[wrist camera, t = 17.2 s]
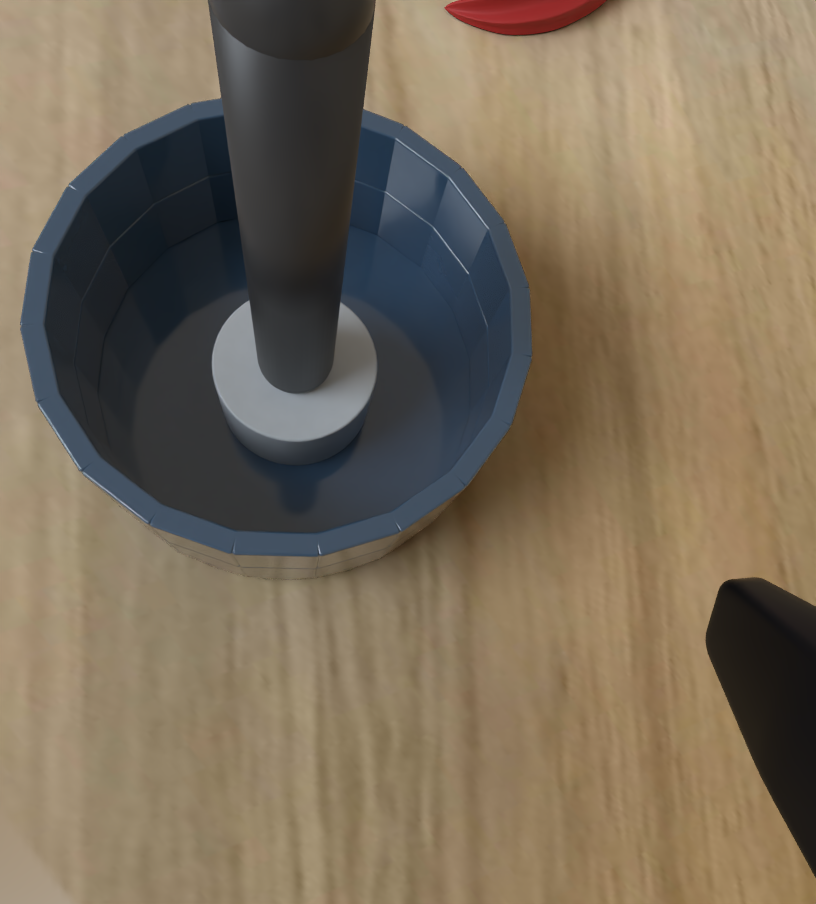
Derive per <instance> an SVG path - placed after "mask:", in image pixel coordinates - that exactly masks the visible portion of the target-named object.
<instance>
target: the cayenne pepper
mask: <svg viewBox="0 0 816 904" xmlns="http://www.w3.org/2000/svg"><path fill="white" fill-rule="evenodd" d="M606 1H607V0H459V1H455V2H452V3H450V4H448V5H447V6H446V7H445V9H446V10H447V11H448V12H449V13H450V14H452V15H453V16H454V17H456V18H457V19H459V20H461V21H463V22H465V23H468V24H470V25H473V26H476V27H478V28H481V29H484V30H488V31H491V32H495V33H501V34H511V35H523V34H536V33H543V32H548V31H552V30H556V29H559V28H561V27H564V26H566V25H569V24H571V23H573V22H575V21H577V20H579V19H581V18H583V17H584V16H586V15H588V14H589V13H591V12H593V11H594V10H596V9H597V8H598V7H600V6H601V5H602V4H603V3H604V2H606Z"/></svg>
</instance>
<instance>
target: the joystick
mask: <svg viewBox="0 0 816 904" xmlns="http://www.w3.org/2000/svg"><path fill="white" fill-rule="evenodd" d="M208 4H209V11H210V18H211V26H212V33H213V40H214V47H215V55H216V62H217V69H218V76H219V84H220V91H221V98H222V105H223V113H224V120H225V127H226V134H227V142H228V149H229V156H230V163H231V171H232V178H233V185H234V192H235V200H236V207H237V214H238V221H239V229H240V236H241V243H242V250H243V258H244V265H245V272H246V279H247V287H248V294H249V301H247V302H246V303H244V304H243V305H242V306H240V307H239V308H238V309H237V310H236V311H235V312H234V313H233V314H232V315H231V316H230V317H229V318H228V319H227V321H226V322H225V323H224V325H223V326H222V328H221V330H220V332H219V334H218V336H217V339H216V341H215V344H214V349H213V354H212V375H213V379H214V384H215V387H216V391H217V394H218V397H219V400H220V404H221V407H222V410H223V413H224V416H225V419H226V421H227V424H228V425H229V427H230V429H231V431H232V432H233V434H234V435H235V436H236V438H237V439H238V440H239V441H240V442H241V443H242V444H243V445H244V446H245V447H246V448H248V449H249V450H250V451H251V452H253V453H255V454H256V455H258V456H260V457H262V458H264V459H267V460H269V461H272V462H276V463H279V464H286V465H306V464H312V463H316V462H320V461H322V460H325V459H328V458H330V457H332V456H334V455H335V454H337V453H338V452H340V451H341V450H343V449H344V448H345V447H346V446H347V445H348V444H350V443H351V441H352V440H353V439H354V438H355V437H356V435H357V434H358V432H359V431H360V429H361V428H362V425H363V423H364V421H365V419H366V415H367V412H368V408H369V405H370V401H371V398H372V394H373V390H374V387H375V383H376V378H377V355H376V350H375V346H374V343H373V340H372V338H371V336H370V333H369V332H368V330H367V328H366V327H365V325H364V324H363V322H362V321H361V320H360V319H359V317H358V316H357V315H356V314H355V313H354V312H353V311H352V310H351V309H349V308H348V307H347V306H345V305H344V304H343V303H341V293H342V285H343V276H344V267H345V259H346V250H347V242H348V233H349V225H350V216H351V208H352V199H353V191H354V182H355V174H356V165H357V157H358V148H359V140H360V131H361V123H362V114H363V106H364V97H365V88H366V80H367V71H368V63H369V54H370V46H371V37H372V29H373V20H374V12H375V0H208Z"/></svg>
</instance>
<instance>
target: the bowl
mask: <svg viewBox="0 0 816 904" xmlns="http://www.w3.org/2000/svg"><path fill="white" fill-rule="evenodd" d="M68 186H69V187H66V189H65V191H64V192H63V194H62V196H61V198H60V200H59V201H58V203H57V205H56V207H55V209H54V211H53V212H52V214H51V216H50V218H49V220H48V221H47V223H46V225H45V227H44V229H43V231H42V232H41V234H40V236H39V238H38V240H37V241H36V243H35V245H34V247H33V249H32V251H33V252H31V256H30V263H29V269H28V276H27V282H26V289H25V295H24V302H23V309H22V315H21V322H20V325H21V328H20V330H21V335H22V340H23V344H24V349H25V354H26V358H27V363H28V367H29V372H30V377H31V381H32V386H33V391H34V395H35V400H36V402H37V403H38V407H39V409H40V410H41V412H42V413H43V415H44V416H45V418H46V420H47V421H48V423H49V424H50V426H51V427H52V429H53V431H54V432H55V434H56V435H57V437H58V438H59V440H60V441H61V443H62V445H63V446H64V448H65V449H66V451H67V452H68V454H69V456H70V457H71V459H72V460H73V462H74V463H75V465H76V466H77V468H78V470H79V471H80V472H81V473H82V474H83V475H84V476H85V477H86V478H87V479H88V480H90V481H91V482H92V483H93V484H94V485H96V486H97V487H98V488H99V489H100V490H101V491H103V492H104V493H105V494H106V495H107V496H109V497H110V498H111V499H112V500H113V501H114V502H116V503H117V504H118V505H119V506H120V507H121V508H123V509H124V510H125V511H126V512H127V513H129V514H130V515H131V516H132V517H134V518H135V519H136V520H138V521H139V522H140V523H141V524H143V525H144V526H145V527H147V528H148V529H149V530H150V531H152V532H153V533H154V534H156V535H157V536H158V537H159V538H160V539H162V540H163V541H165V542H166V543H167V544H168V545H170V546H171V547H172V548H174V549H175V550H176V551H177V552H179V553H181V554H183V555H185V556H188V557H191V558H194V559H196V560H198V561H200V562H203V563H205V564H207V565H209V566H212V567H215V568H218V569H221V570H225V571H228V572H231V573H235V574H238V575H242V576H248V577H256V578H262V579H283V580H296V579H306V578H316V577H317V578H318V577H323V576H327V575H331V574H336V573H340V572H344V571H348V570H350V569H353V568H356V567H358V566H361V565H364V564H366V563H369V562H372V561H374V560H378V559H379V558H382V557H383V556H385V555H386V554H387V553H389V552H391V551H392V550H394V549H396V548H397V547H399V546H400V545H401V544H403V543H404V542H406V541H407V540H408V539H410V538H411V537H413V536H414V535H415V534H417V533H418V532H419V531H420V530H422V529H423V528H425V527H426V526H428V525H429V524H430V523H432V522H433V521H434V520H435V519H436V518H437V517H438V516H439V515H440V514H441V513H442V512H443V511H444V510H445V509H446V508H447V507H448V506H449V504H450V503H451V502H452V501H453V500H454V499H455V498H456V497H457V496H458V495H459V494H460V493H461V492H462V491H463V490H464V489H465V488H466V487H467V486H468V485H469V484H470V482H471V481H472V480H473V478H474V477H475V476H476V474H477V473H478V472H479V470H480V469H481V467H482V466H483V465H484V463H485V462H486V461H487V459H488V458H489V457H490V455H491V454H492V452H493V451H494V450H495V448H496V447H497V446H498V444H499V443H500V442H501V440H502V439H503V438H504V436H505V435H506V433H507V432H508V431H509V429H510V426H511V425H512V423H513V420H514V417H515V414H516V410H517V407H518V404H519V400H520V397H521V394H522V391H523V387H524V384H525V381H526V378H527V374H528V371H529V368H530V365H531V361H532V358H531V357H532V331H531V304H530V289H529V284H528V281H527V279H526V276H525V273H524V271H523V268H522V265H521V263H520V260H519V257H518V255H517V252H516V249H515V247H514V244H513V241H512V239H511V236H510V233H509V231H508V228H507V225H506V224H505V223H504V220H503V219H502V217H501V216H500V215H499V213H498V212H497V211H496V210H495V208H494V207H493V206H492V204H491V203H490V202H489V201H488V199H487V198H486V197H485V195H484V194H483V193H482V192H481V190H480V189H479V188H478V186H477V185H476V184H475V182H474V181H473V180H472V179H471V177H470V176H469V175H468V173H467V172H466V171H465V170H464V168H461V166H460V165H459V164H458V163H456V162H455V161H454V160H452V159H451V158H450V157H448V156H447V155H445V154H444V153H443V152H441V151H440V150H439V149H437V148H436V147H434V146H433V145H432V144H430V143H429V142H428V141H426V140H425V139H423V138H422V137H421V136H419V135H418V134H417V133H415V132H414V131H413V130H411V129H410V128H408V127H407V126H404V125H403V124H401V123H399V122H396V121H393V120H391V119H388V118H386V117H383V116H380V115H378V114H375V113H372V112H370V111H367V110H364V109H363V114H362V123H361V131H360V140H359V148H358V157H357V165H356V174H355V182H354V191H353V199H352V208H351V216H350V225H349V233H348V242H347V250H346V259H345V267H344V276H343V285H342V293H341V303H343V304H344V305H345V306H347V307H348V308H349V309H351V310H352V311H353V312H354V313H355V314H356V315H357V316H358V317H359V319H360V320H361V321H362V322H363V324H364V325H365V327H366V328H367V330H368V332H369V333H370V336H371V338H372V340H373V343H374V346H375V350H376V355H377V378H376V383H375V387H374V390H373V394H372V398H371V401H370V405H369V408H368V412H367V415H366V419H365V421H364V423H363V425H362V428H361V429H360V431H359V432H358V434H357V435H356V437H355V438H354V439H353V440H352V441H351V443H350V444H348V445H347V446H346V447H345V448H344V449H343V450H341V451H340V452H338V453H337V454H335V455H334V456H332V457H330V458H328V459H325V460H322V461H320V462H316V463H312V464H306V465H286V464H279V463H276V462H272V461H269V460H267V459H264V458H262V457H260V456H258V455H256V454H255V453H253V452H251V451H250V450H249V449H248V448H246V447H245V446H244V445H243V444H242V443H241V442H240V441H239V440H238V439H237V438H236V436H235V435H234V434H233V432H232V431H231V429H230V427H229V425H228V424H227V421H226V419H225V416H224V413H223V410H222V407H221V404H220V400H219V397H218V394H217V391H216V387H215V384H214V379H213V375H212V354H213V349H214V344H215V341H216V339H217V336H218V334H219V332H220V330H221V328H222V326H223V325H224V323H225V322H226V321H227V319H228V318H229V317H230V316H231V315H232V314H233V313H234V312H235V311H236V310H237V309H238V308H239V307H240V306H242V305H243V304H244V303H246V302H247V301H249V294H248V287H247V279H246V272H245V265H244V258H243V250H242V243H241V236H240V229H239V221H238V214H237V207H236V200H235V192H234V185H233V178H232V171H231V163H230V156H229V149H228V142H227V134H226V127H225V120H224V113H223V105H222V98H220V99H213V100H207V101H201V102H195V103H191V105H189V104H187V105H185V106H183V107H181V108H179V109H177V110H175V111H172V112H170V113H168V114H166V115H164V116H162V117H160V118H158V119H156V120H153V121H151V122H149V123H147V124H145V125H143V126H141V127H139V128H136V129H134V130H132V131H130V132H128V133H126V134H124V135H123V136H121V137H120V138H119V139H118V140H116V141H115V142H114V143H113V144H112V145H111V146H110V147H109V148H108V149H107V150H105V151H104V152H103V153H102V154H101V155H100V156H99V157H98V158H97V159H96V160H95V161H93V162H92V163H91V164H90V165H89V166H88V167H87V168H86V169H85V170H84V171H82V172H81V173H80V174H79V175H78V176H77V177H76V178H75V179H74V180H73V181H72V182H70V183H69V185H68Z"/></svg>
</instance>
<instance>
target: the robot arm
mask: <svg viewBox="0 0 816 904" xmlns="http://www.w3.org/2000/svg"><path fill="white" fill-rule="evenodd" d="M706 647H707V651H708V655H709V657H710V660H711V662H712V664H713V667H714V669H715V672H716V674H717V676H718V679H719V681H720V683H721V686H722V688H723V690H724V693H725V695H726V697H727V700H728V702H729V705H730V707H731V709H732V712H733V714H734V716H735V719H736V721H737V723H738V726H739V728H740V730H741V733H742V735H743V738H744V740H745V742H746V745H747V747H748V749H749V752H750V754H751V756H752V758H753V761H754V763H755V765H756V767H757V769H758V771H759V774H760V776H761V778H762V780H763V782H764V784H765V785H766V787H767V789H768V791H769V793H770V795H771V797H772V799H773V801H774V803H775V804H776V806H777V808H778V810H779V812H780V814H781V815H782V817H783V819H784V821H785V823H786V824H787V826H788V828H789V830H790V832H791V834H792V835H793V837H794V839H795V841H796V843H797V845H798V846H799V848H800V850H801V852H802V854H803V856H804V857H805V859H806V861H807V863H808V865H809V867H810V868H811V870H812V872H813V874H814V876H815V878H816V606H814V605H812V604H810V603H808V602H806V601H804V600H802V599H800V598H798V597H797V596H795V595H793V594H791V593H789V592H787V591H785V590H783V589H781V588H780V587H778V586H776V585H774V584H772V583H770V582H768V581H766V580H764V579H762V578H755V577H753V578H741V579H731V580H728V581H725V582H724V583H723V584H722V585H721V586H720V588H719V591H718V594H717V598H716V601H715V604H714V608H713V611H712V614H711V618H710V621H709V625H708V628H707V632H706Z"/></svg>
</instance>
